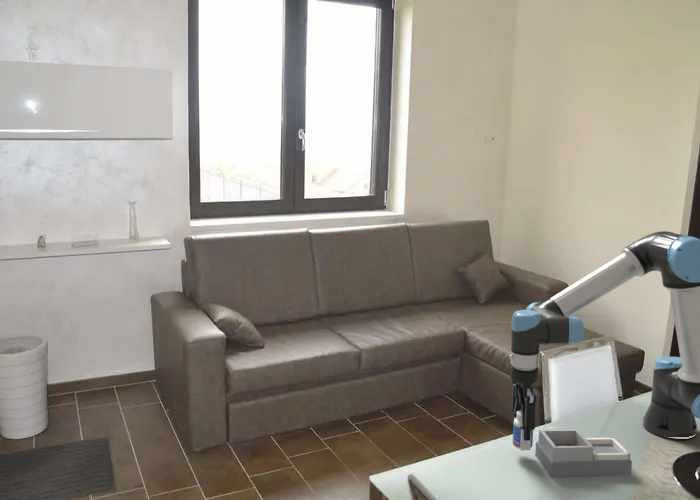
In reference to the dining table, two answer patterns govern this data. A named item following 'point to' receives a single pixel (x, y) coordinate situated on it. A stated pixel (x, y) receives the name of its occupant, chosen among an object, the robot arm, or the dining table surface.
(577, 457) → the grey compartment organizer
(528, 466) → the dining table surface
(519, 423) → the pill bottle
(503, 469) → the dining table surface
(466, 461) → the dining table surface
